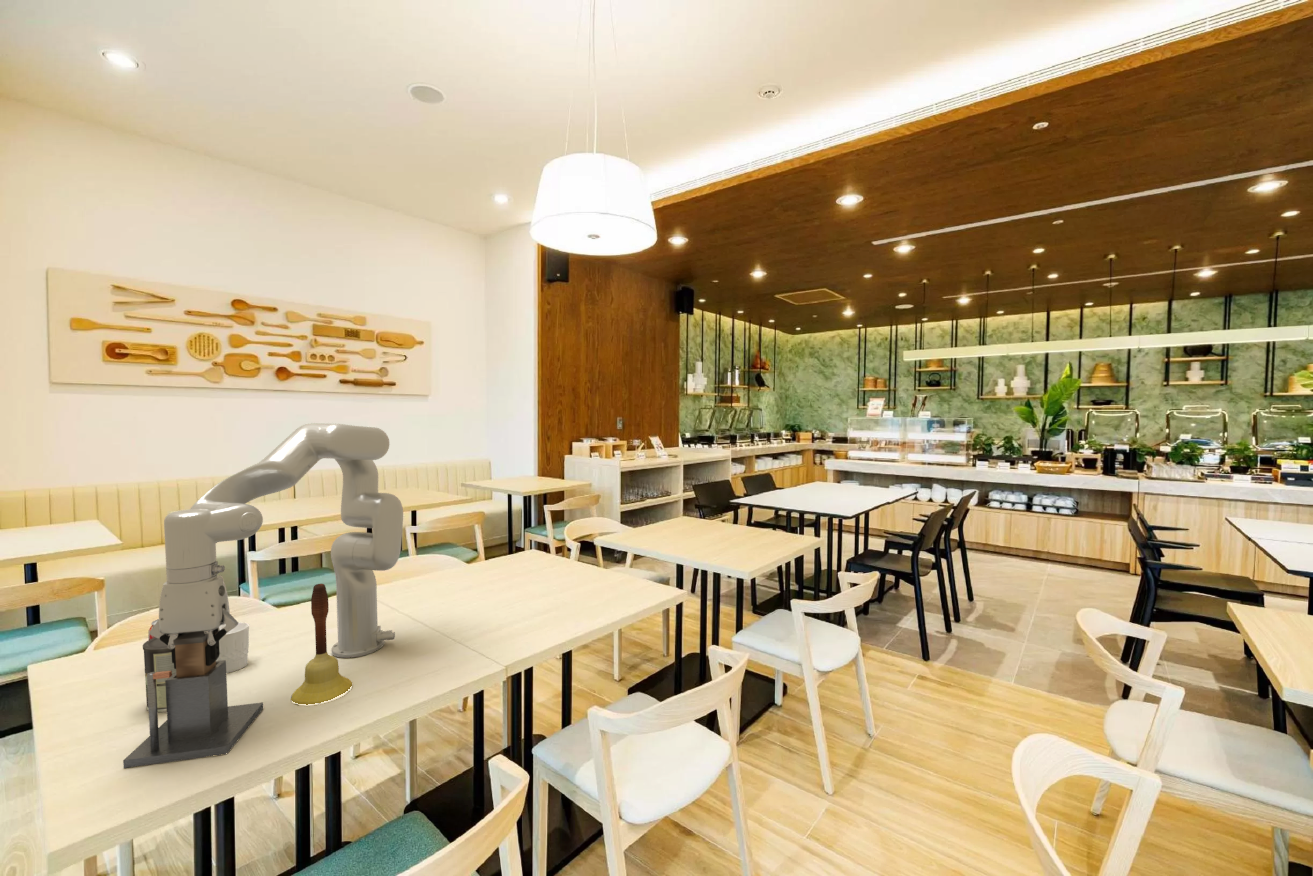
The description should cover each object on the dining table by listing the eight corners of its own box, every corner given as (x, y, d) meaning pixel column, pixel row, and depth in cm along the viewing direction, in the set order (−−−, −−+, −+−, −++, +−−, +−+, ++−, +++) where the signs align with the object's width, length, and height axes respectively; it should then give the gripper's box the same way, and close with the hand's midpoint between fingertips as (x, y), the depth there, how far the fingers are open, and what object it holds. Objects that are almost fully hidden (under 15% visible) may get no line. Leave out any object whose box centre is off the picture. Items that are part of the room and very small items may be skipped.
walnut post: (219, 719, 112) (215, 627, 111) (207, 732, 108) (202, 637, 107) (191, 722, 111) (187, 630, 110) (177, 736, 106) (173, 640, 105)
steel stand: (263, 709, 119) (260, 636, 118) (226, 754, 104) (223, 671, 103) (175, 719, 115) (171, 645, 114) (123, 768, 100) (119, 682, 99)
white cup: (257, 663, 140) (255, 625, 140) (222, 677, 133) (220, 637, 132) (239, 657, 143) (237, 620, 143) (203, 670, 136) (202, 631, 136)
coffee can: (132, 712, 118) (128, 648, 117) (175, 688, 128) (173, 628, 127) (179, 713, 117) (176, 649, 117) (218, 688, 128) (216, 629, 127)
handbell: (297, 684, 130) (293, 580, 129) (356, 674, 135) (353, 574, 133) (284, 710, 119) (280, 597, 117) (349, 699, 123) (346, 590, 122)
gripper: (250, 564, 113) (254, 651, 114) (152, 570, 109) (156, 660, 110) (233, 575, 106) (237, 668, 107) (126, 582, 102) (131, 678, 103)
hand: (196, 663), depth 109 cm, fingers closed on walnut post, 4 cm apart
